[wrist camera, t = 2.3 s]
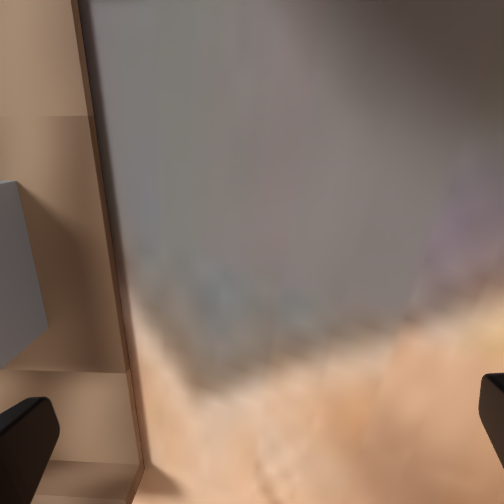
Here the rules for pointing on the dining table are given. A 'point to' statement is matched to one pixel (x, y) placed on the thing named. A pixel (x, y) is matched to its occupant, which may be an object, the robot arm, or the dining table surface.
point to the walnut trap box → (66, 258)
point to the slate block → (17, 280)
